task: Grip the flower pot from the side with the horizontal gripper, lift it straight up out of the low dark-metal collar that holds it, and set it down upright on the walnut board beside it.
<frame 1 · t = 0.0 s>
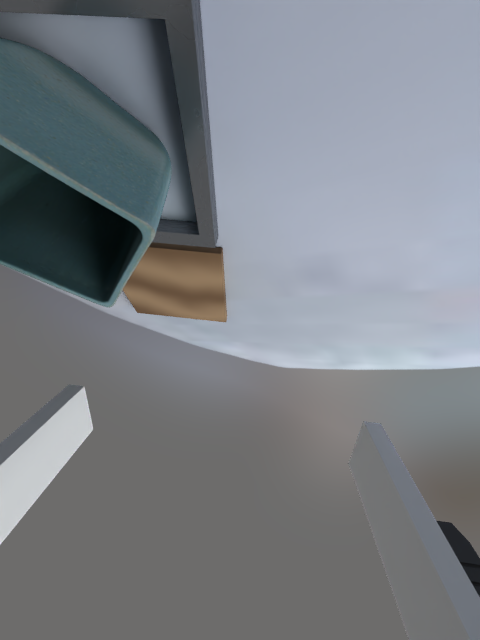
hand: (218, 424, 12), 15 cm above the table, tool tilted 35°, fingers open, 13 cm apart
flower pot: (110, 141, 16), resting in metal collar
metal collar: (109, 143, 16), on the table
walnut board: (172, 283, 28), on the table
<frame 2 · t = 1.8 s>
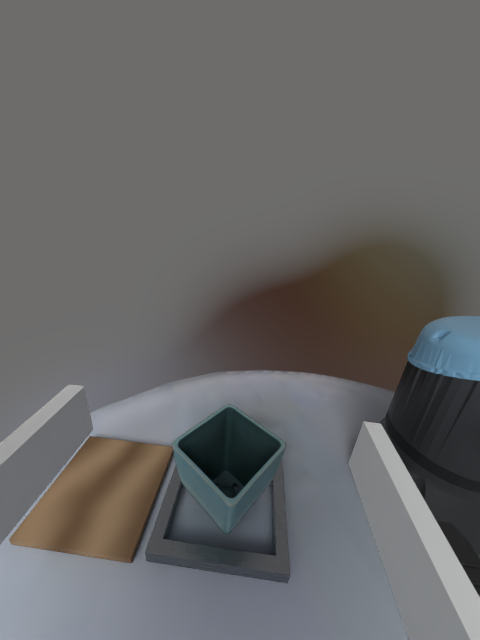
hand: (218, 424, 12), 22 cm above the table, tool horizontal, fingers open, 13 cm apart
flower pot: (225, 498, 29), resting in metal collar
metal collar: (226, 496, 29), on the table
walnut board: (107, 489, 29), on the table
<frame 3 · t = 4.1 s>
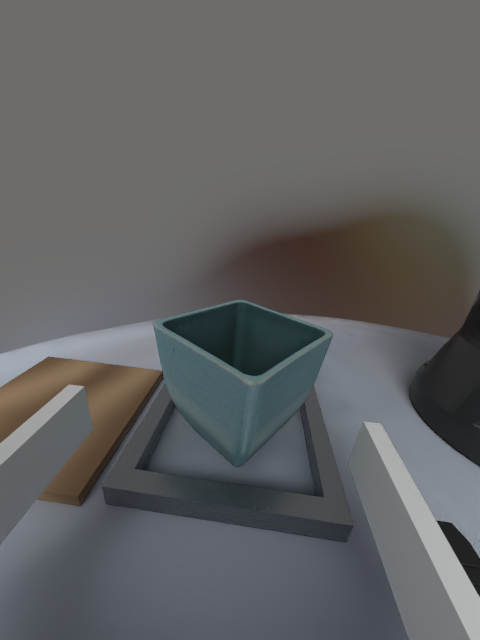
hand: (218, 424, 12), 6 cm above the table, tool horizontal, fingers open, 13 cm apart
flower pot: (235, 429, 20), resting in metal collar
metal collar: (236, 427, 20), on the table
walnut board: (60, 413, 20), on the table
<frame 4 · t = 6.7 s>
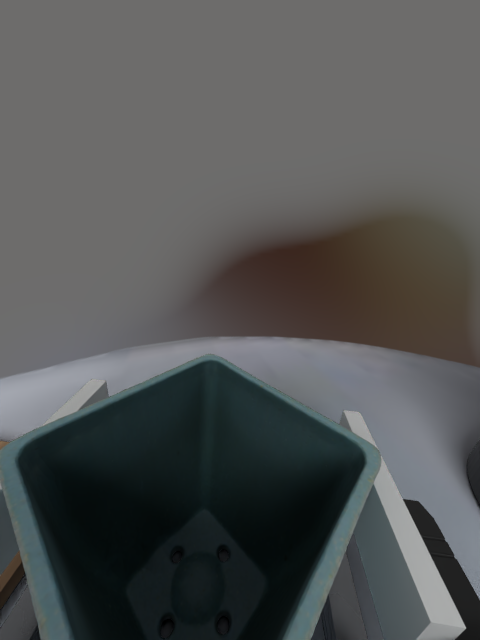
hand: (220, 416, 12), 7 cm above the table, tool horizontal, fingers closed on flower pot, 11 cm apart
flower pot: (198, 589, 11), resting in metal collar, touching gripper
metal collar: (199, 587, 11), on the table
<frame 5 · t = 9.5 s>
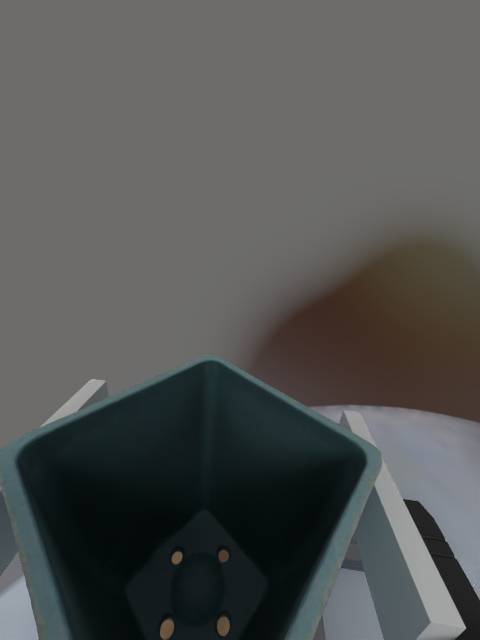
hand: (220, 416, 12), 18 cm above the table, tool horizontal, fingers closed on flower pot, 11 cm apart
flower pot: (198, 590, 11), point 12 cm above the table, touching gripper
when the fingers open (9 cm above the table, at t = 12.3 s): flower pot drops 1 cm, resting on walnut board.
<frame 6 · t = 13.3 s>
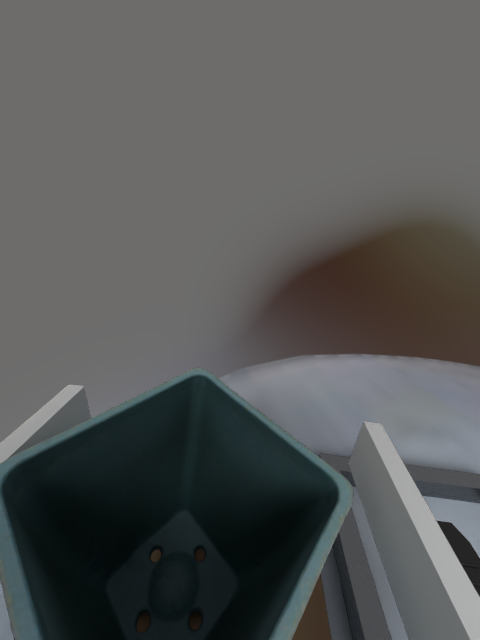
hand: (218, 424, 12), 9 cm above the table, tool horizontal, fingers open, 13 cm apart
flower pot: (174, 586, 12), point 1 cm above the table, touching walnut board
metal collar: (464, 598, 13), on the table
walnut board: (207, 583, 13), on the table
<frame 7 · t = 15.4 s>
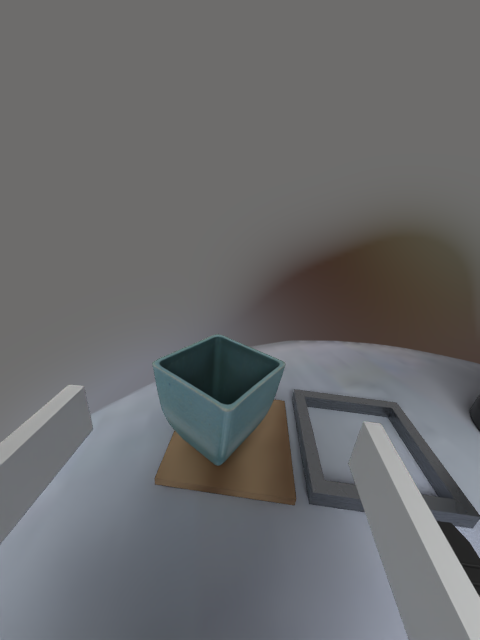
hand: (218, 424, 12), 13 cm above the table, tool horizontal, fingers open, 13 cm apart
flower pot: (216, 437, 26), point 1 cm above the table, touching walnut board
metal collar: (360, 447, 27), on the table
walnut board: (232, 437, 26), on the table
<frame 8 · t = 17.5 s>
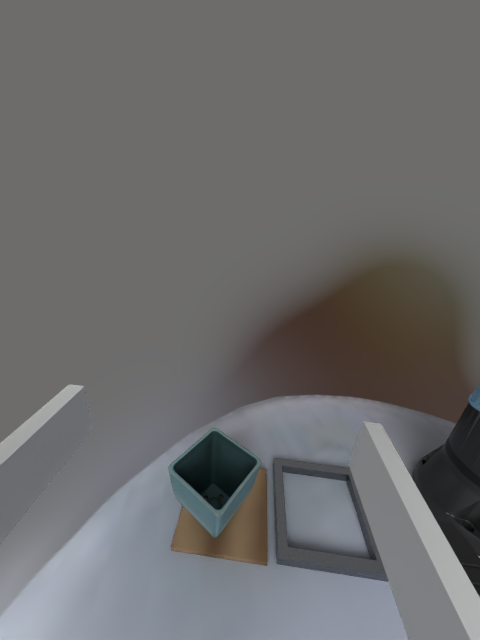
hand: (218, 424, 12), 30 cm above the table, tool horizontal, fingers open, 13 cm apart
flower pot: (213, 507, 35), point 1 cm above the table, touching walnut board
metal collar: (320, 512, 36), on the table
walnut board: (225, 505, 36), on the table
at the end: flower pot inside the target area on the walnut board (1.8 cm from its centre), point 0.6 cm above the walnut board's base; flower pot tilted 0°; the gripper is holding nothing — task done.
